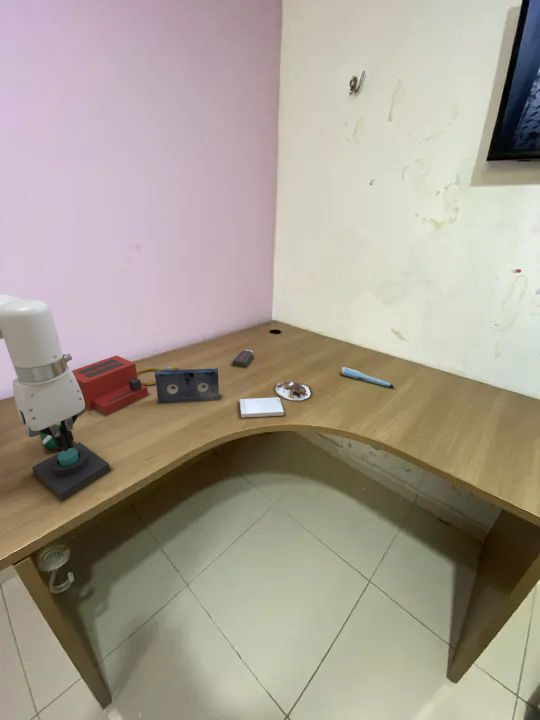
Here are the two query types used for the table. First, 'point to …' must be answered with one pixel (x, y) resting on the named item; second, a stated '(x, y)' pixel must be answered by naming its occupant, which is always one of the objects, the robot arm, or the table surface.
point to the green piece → (49, 440)
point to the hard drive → (261, 407)
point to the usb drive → (243, 358)
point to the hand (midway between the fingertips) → (65, 446)
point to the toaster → (108, 384)
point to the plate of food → (292, 390)
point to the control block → (71, 472)
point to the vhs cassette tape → (187, 385)
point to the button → (68, 457)
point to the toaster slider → (135, 384)
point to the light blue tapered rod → (364, 377)
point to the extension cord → (156, 370)
